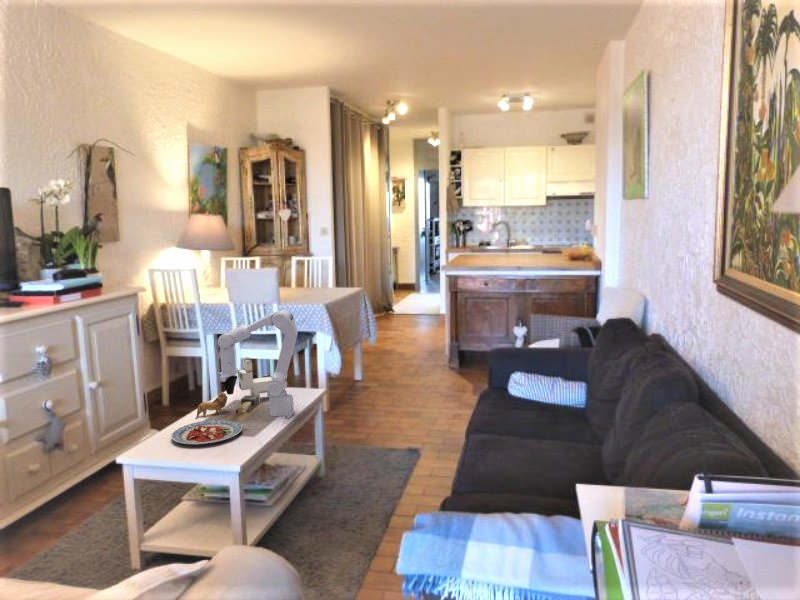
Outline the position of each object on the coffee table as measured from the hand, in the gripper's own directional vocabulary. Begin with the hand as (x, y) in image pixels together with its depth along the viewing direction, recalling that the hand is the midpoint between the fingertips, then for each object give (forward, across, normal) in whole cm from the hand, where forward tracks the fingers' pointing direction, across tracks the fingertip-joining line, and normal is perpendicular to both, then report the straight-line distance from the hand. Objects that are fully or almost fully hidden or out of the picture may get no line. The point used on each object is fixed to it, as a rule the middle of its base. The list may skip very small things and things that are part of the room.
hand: (230, 394), depth 257 cm
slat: (+9, -7, +4) cm, 12 cm away
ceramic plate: (+10, +24, 0) cm, 26 cm away
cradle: (+9, -3, +4) cm, 11 cm away
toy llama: (+10, -20, +6) cm, 23 cm away
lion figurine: (+10, 0, -8) cm, 13 cm away
